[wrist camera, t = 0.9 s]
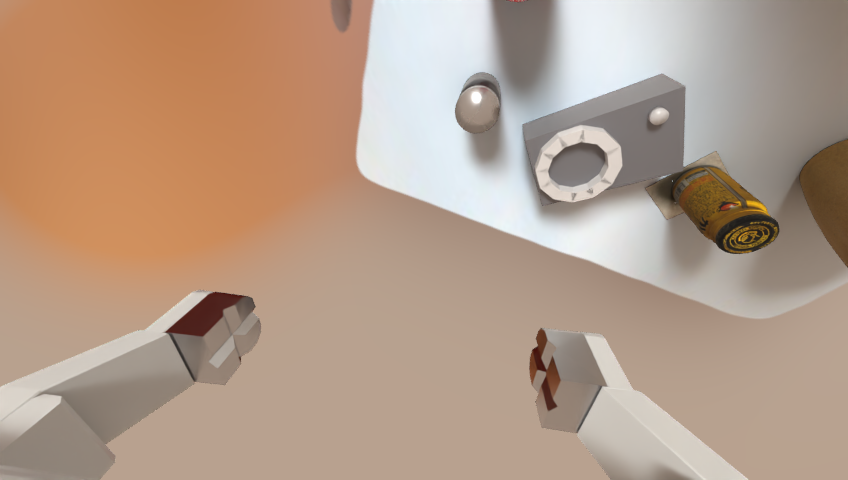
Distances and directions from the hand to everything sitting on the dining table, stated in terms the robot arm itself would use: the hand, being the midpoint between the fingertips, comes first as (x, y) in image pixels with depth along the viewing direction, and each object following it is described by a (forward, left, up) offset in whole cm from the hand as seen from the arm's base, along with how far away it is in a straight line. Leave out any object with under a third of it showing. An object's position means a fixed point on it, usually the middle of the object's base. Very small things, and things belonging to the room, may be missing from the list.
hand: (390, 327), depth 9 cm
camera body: (-11, +14, -40) cm, 44 cm away
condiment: (-22, +26, -40) cm, 53 cm away
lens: (+1, +3, -40) cm, 40 cm away
